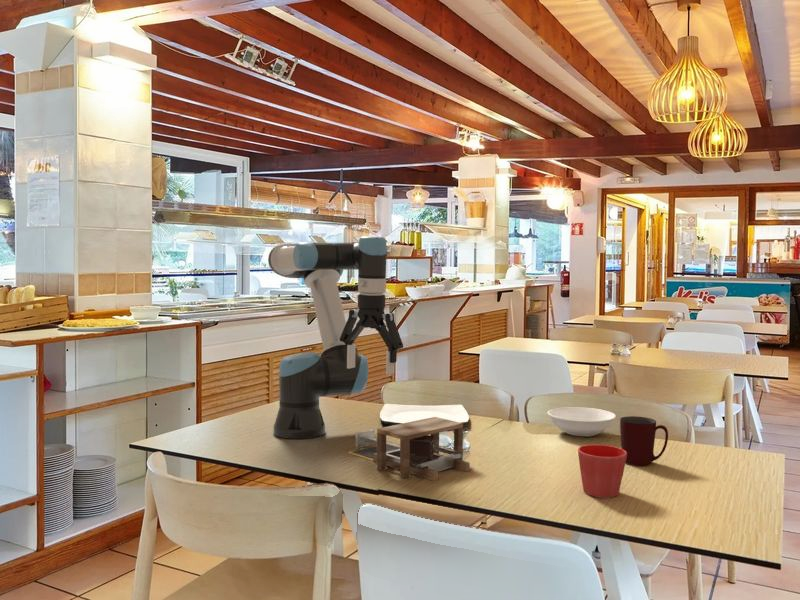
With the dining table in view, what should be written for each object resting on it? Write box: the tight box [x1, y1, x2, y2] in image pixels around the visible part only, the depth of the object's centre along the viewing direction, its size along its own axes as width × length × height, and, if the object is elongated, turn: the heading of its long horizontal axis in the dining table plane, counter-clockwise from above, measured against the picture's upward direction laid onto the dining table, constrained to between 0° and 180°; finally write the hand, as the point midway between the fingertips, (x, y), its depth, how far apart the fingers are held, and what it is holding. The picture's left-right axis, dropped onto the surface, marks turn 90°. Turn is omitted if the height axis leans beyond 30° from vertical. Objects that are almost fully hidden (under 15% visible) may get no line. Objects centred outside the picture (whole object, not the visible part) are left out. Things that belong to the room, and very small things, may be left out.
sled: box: [355, 428, 464, 472], centre depth 196 cm, size 29×16×5 cm, turn 43°
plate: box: [379, 403, 470, 426], centre depth 243 cm, size 29×29×3 cm
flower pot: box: [577, 444, 627, 499], centre depth 170 cm, size 11×11×10 cm
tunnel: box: [373, 417, 471, 482], centre depth 190 cm, size 22×20×10 cm
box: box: [410, 435, 434, 463], centre depth 190 cm, size 6×6×7 cm
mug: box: [619, 415, 669, 467], centre depth 194 cm, size 12×9×11 cm
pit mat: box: [347, 445, 393, 462], centre depth 202 cm, size 10×12×1 cm
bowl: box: [547, 406, 617, 437], centre depth 225 cm, size 20×20×6 cm
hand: (370, 371), depth 207 cm, fingers open, 13 cm apart
